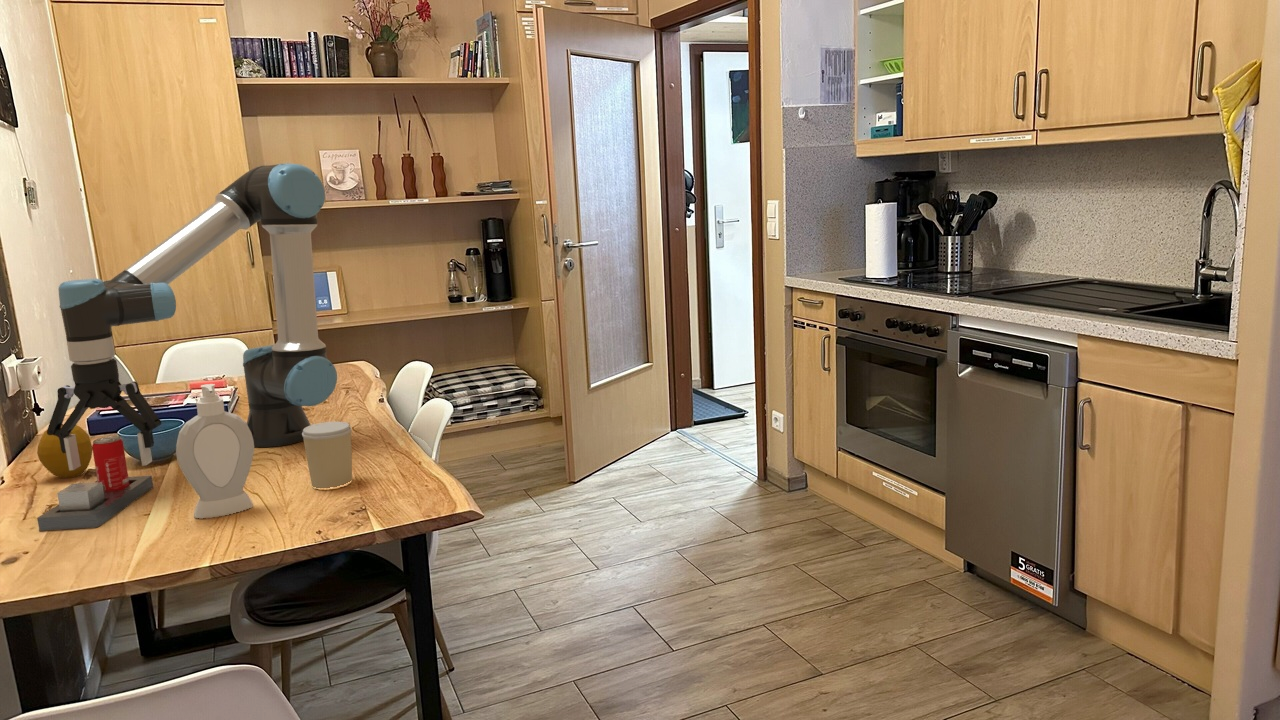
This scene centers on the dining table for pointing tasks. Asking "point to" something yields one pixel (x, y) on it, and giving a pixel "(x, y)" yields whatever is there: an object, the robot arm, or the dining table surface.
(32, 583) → the dining table surface
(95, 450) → the beverage can
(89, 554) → the dining table surface
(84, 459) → the apple
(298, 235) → the robot arm
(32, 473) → the dining table surface
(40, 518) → the grey flat frame
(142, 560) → the dining table surface
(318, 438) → the coffee cup
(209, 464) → the soap bottle
